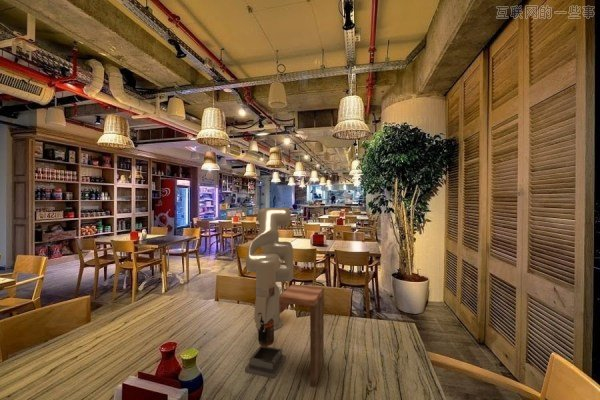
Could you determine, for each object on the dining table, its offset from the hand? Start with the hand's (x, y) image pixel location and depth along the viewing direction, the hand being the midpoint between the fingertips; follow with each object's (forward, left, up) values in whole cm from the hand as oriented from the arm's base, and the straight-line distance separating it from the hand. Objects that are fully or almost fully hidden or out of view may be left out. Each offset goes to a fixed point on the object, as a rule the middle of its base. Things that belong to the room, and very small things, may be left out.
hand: (266, 336), depth 105 cm
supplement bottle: (0, 0, -3) cm, 3 cm away
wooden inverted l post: (-1, +15, -11) cm, 19 cm away
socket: (0, 0, -11) cm, 11 cm away
